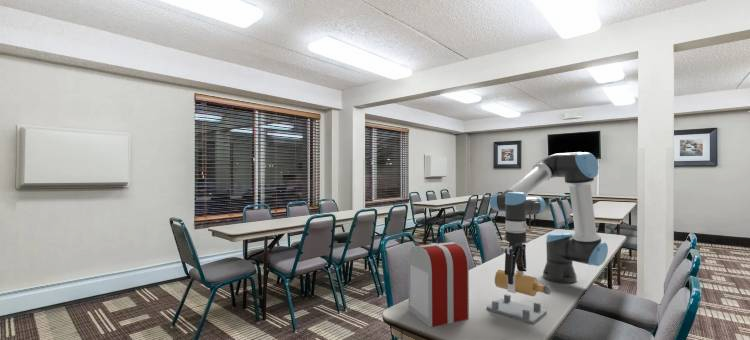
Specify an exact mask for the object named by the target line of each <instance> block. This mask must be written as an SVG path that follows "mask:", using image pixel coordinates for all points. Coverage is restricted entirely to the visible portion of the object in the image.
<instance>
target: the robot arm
mask: <svg viewBox="0 0 750 340" xmlns="http://www.w3.org/2000/svg"><path fill="white" fill-rule="evenodd" d="M599 169H600V167H599V162H598V161H597V158H596V157H595V156H594V154H593V153H591V152H588V151H587V152H586V151H584V152H582V151H575V152H559V153H553V154H551V155H548V156H546V157H544V158H542V159H540V160H539V161H538V162H536V163H535V164H534V165H533V166H532V168H531V170H530V171H528V172H527V173H526V174H524V175H523V176H522V177H521V178H520V179H518V180H517V181H516V182H515V183H513V184H511V186H510V187H508V188H507V189H506V190H505V191H503V192H502V193H495V194H492V195H491V197H490V199H489V205H490V208H491V209H492V210H493V211H498V212H504V213H505V224H504V225H505V226H504V229H505V234H504V235H505V236H504V237H505V241H506V242H507V243H508V248H504V254H505V256H504V257H505V258H504V271H505V275H508V290H507V292H508V293H512V294H516V292H515V276H514V273H517V274H522V275H525V272H527V259H526V258H527V256H526V249H527V245H526V244H524V243H526V242H527V233H526V231H527V226H528V224H527V216H531V215H532V216H533V215H536V216H537V215H539V214H542V213H543V212H545V210H546V207H547V205H546V201H545V199H544V198H542V196H539V195H529V194H531V193H532V192H533V191H534V190H535V189H536V188H537V187H539V186H540V185H541V184H542V183H544V182H547V181H549V180H550V179H552V178H564V183H566V185H568V187H569V195H570V202H571V209H572V217H573V218H572V219H573V228H574V233H573V234H572V233H570V232H554V233H549V234H546V235H547V236H546V242H545V245H546V263H545V266H544V269H543V271H542V277H543V278H544V279H545V280H548V281H551V282H556V283H563V284H567V283H568V284H571V283H572V284H573V283H575V282H577V281H578V280H577V279H578V278H577V274H576V271H575V268H574V265H573V262H575V263H580V264H584V265H588V266H595V267H599V266H602V265H603V264H604V263H605V261H606V259H607V256H608V251H609V248H608V247H609V246H608V243H607V242H605V241H602V238H601V237H602V236H601V235H600V234H598V233H597V227H596V220H595V219H596V218H595V209H594V202H593V194H592V193H593V191H592V187H591V186H592V185H591V184H592V183H593V182H594V181H595V177H597V176H598V174H599ZM516 269H517V270H516Z"/></svg>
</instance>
